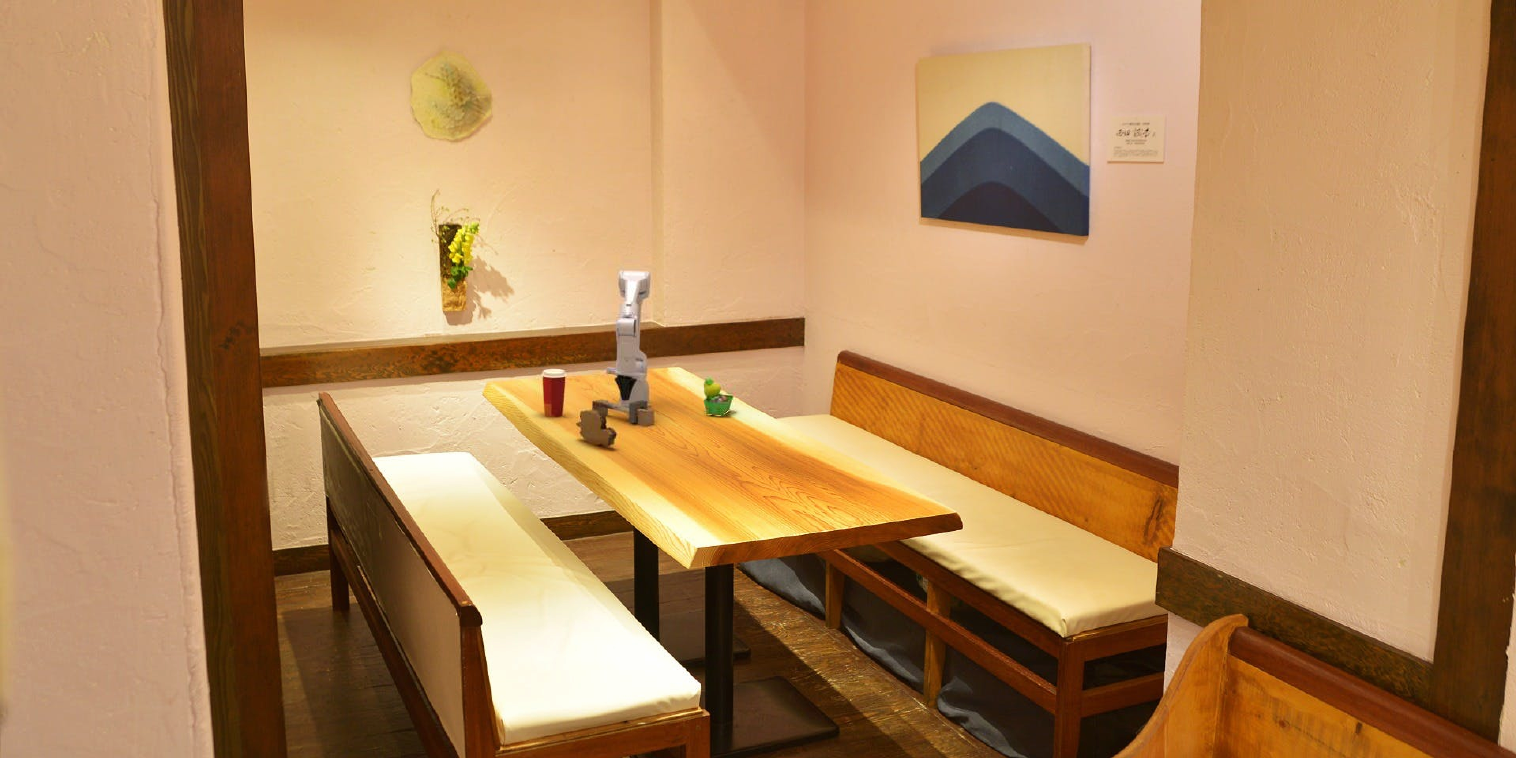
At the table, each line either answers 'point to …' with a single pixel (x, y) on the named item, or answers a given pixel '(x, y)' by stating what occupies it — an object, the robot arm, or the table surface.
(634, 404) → the collar
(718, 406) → the fruit basket
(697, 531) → the table surface
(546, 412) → the paper cup
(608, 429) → the wooden carving
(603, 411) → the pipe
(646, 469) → the table surface
